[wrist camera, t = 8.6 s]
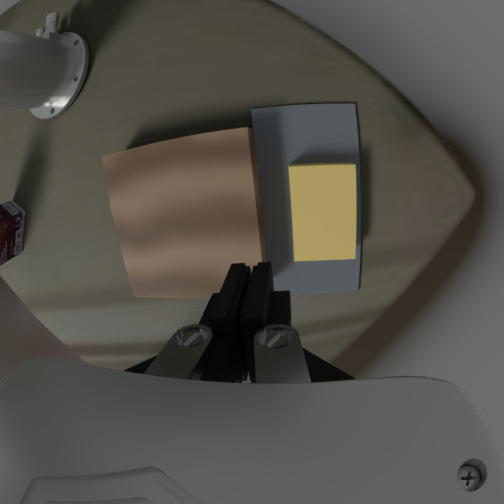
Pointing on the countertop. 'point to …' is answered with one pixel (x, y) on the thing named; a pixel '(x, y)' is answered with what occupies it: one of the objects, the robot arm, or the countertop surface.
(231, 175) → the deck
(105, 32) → the countertop surface
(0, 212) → the supplement box
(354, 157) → the mat
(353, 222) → the yellow block
